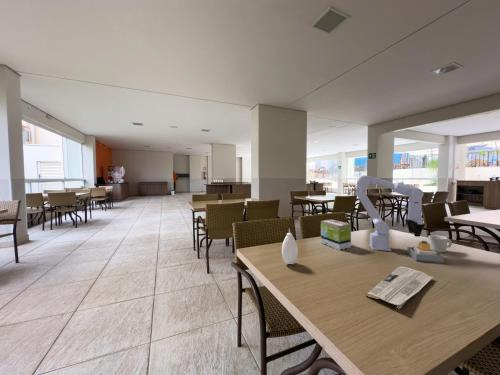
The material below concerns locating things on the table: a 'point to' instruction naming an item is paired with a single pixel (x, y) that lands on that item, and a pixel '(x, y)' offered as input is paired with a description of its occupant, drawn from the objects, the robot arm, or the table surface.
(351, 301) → the table surface
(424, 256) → the walled box
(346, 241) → the tea box
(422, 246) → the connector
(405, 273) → the newspaper
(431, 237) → the cup
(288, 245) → the sauce bottle
